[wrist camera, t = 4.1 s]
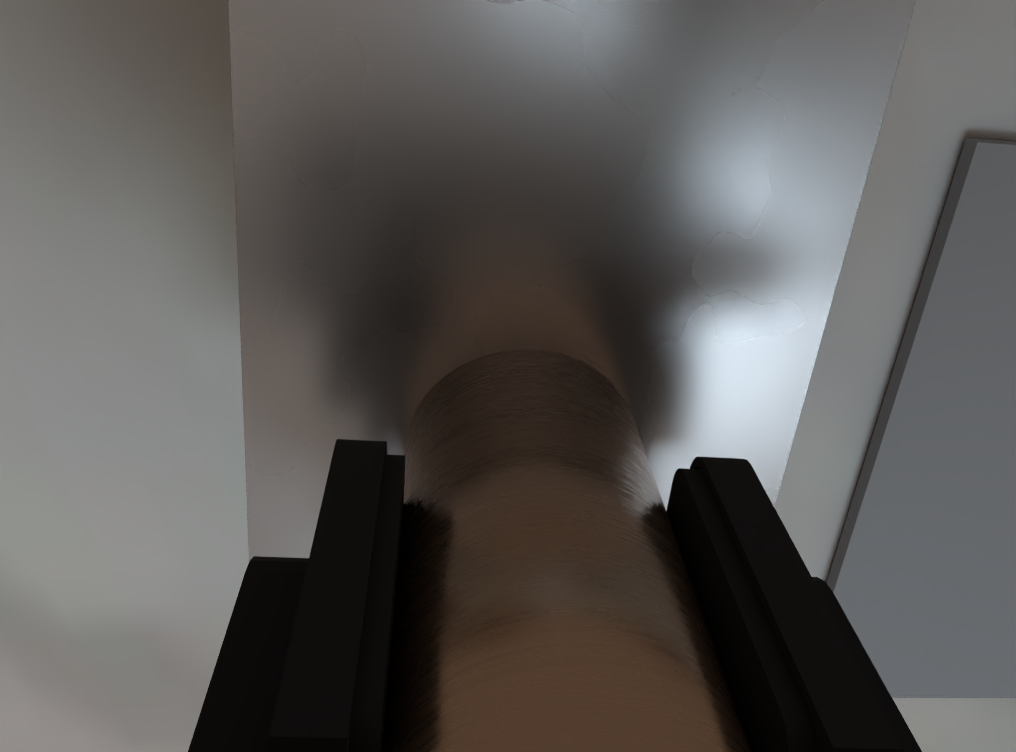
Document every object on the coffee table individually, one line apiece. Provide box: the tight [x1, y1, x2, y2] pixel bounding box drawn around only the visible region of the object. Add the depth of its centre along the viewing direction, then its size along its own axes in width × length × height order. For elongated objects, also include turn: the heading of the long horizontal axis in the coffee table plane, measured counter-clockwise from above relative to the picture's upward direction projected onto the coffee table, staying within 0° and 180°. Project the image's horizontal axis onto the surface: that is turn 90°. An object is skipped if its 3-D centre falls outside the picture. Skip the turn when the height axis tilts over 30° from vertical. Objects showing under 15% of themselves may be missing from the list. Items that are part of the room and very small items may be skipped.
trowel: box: [228, 0, 916, 752], centre depth 8 cm, size 7×10×8 cm
